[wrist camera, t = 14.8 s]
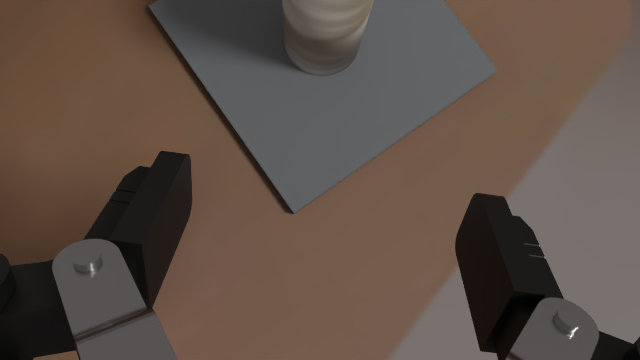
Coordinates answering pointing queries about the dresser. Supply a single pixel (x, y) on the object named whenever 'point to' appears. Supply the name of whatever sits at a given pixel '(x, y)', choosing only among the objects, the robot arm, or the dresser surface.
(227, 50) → the slate mat
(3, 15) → the dresser surface
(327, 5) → the cream peg
